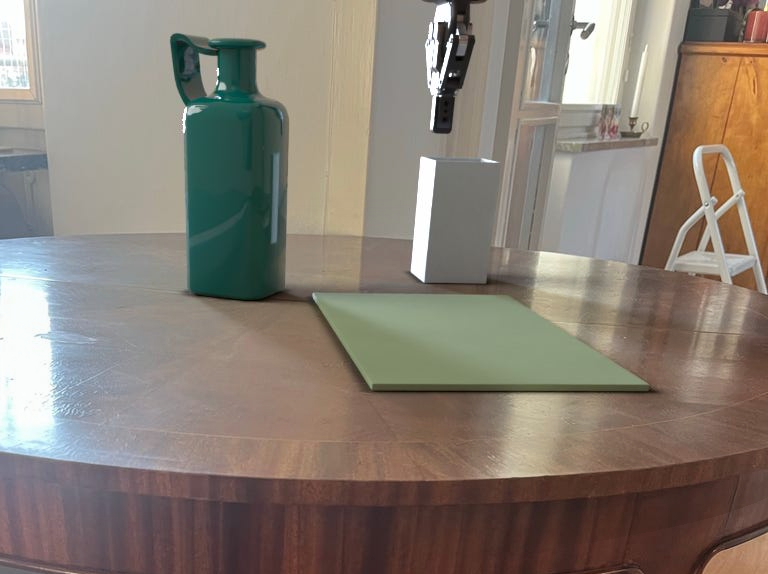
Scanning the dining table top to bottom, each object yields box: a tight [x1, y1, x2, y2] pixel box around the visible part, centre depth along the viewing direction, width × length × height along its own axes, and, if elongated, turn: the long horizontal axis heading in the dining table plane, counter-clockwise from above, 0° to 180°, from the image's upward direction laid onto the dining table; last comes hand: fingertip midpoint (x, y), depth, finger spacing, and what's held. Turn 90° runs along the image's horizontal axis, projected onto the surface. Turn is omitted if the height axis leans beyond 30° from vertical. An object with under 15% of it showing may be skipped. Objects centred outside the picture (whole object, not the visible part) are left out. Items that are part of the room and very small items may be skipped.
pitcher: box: [169, 32, 290, 301], centre depth 91 cm, size 10×8×22 cm
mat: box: [312, 292, 651, 392], centre depth 81 cm, size 20×34×1 cm, turn 6°
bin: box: [410, 156, 502, 285], centre depth 105 cm, size 7×7×12 cm
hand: (440, 133), depth 109 cm, fingers closed
